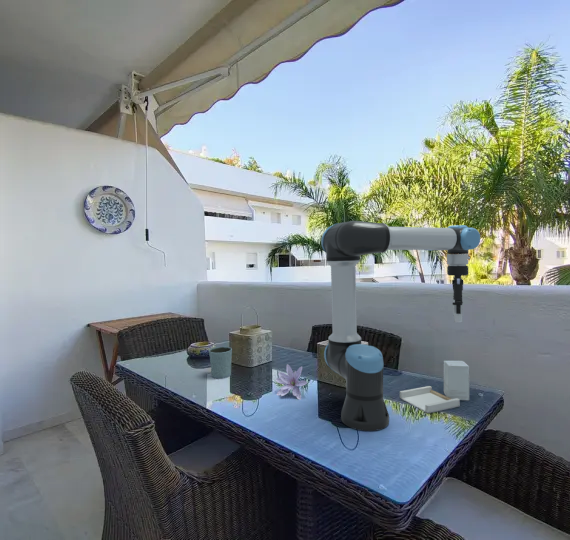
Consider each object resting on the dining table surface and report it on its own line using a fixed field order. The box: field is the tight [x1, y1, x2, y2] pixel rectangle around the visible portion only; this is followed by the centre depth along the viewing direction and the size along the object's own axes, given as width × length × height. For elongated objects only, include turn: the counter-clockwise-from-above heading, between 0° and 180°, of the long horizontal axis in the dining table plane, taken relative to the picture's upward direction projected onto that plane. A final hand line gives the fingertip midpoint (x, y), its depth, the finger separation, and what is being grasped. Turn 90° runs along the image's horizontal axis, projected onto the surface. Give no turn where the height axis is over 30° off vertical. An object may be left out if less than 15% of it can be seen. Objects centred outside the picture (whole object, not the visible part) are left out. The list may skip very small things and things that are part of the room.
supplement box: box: [443, 360, 470, 401], centre depth 137 cm, size 7×7×13 cm
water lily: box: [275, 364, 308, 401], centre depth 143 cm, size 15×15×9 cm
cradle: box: [399, 385, 461, 414], centre depth 132 cm, size 14×14×2 cm
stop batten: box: [430, 389, 451, 400], centre depth 135 cm, size 1×12×1 cm, turn 21°
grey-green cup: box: [208, 346, 233, 380], centre depth 165 cm, size 10×10×12 cm
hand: (457, 319), depth 145 cm, fingers open, 13 cm apart
